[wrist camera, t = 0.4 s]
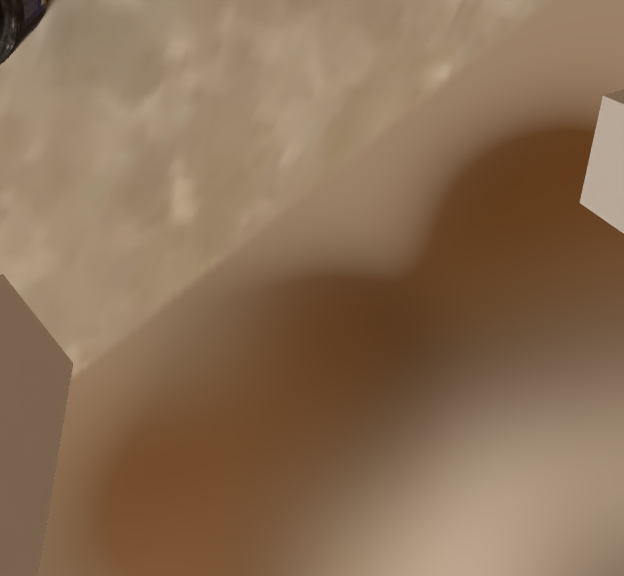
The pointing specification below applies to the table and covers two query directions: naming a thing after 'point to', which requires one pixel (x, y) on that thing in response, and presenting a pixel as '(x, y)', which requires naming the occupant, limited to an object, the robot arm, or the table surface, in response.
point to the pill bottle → (18, 23)
